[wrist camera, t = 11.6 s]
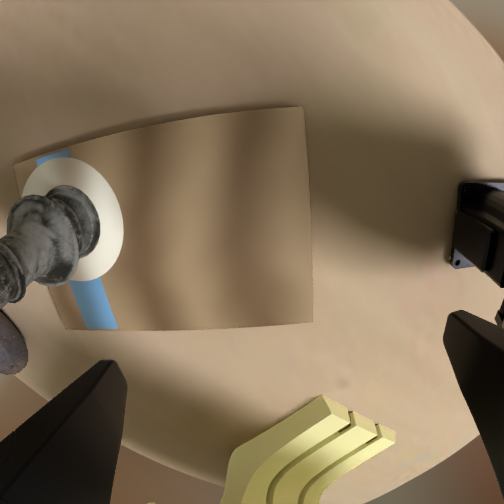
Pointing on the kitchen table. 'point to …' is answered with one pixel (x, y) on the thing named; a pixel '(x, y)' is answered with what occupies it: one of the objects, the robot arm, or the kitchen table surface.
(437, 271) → the kitchen table surface
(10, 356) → the perforated stone tool
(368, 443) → the slatted curved stool
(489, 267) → the robot arm
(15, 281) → the dark grey chess piece
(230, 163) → the board
